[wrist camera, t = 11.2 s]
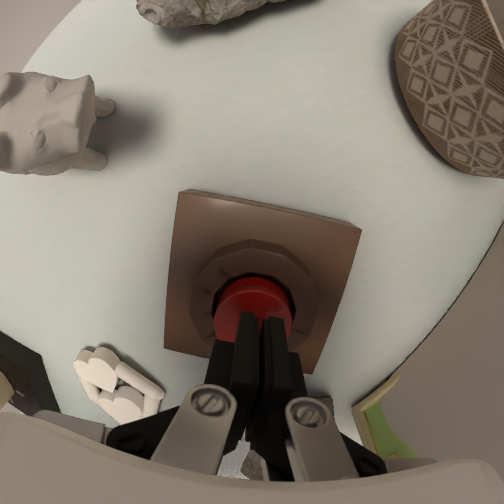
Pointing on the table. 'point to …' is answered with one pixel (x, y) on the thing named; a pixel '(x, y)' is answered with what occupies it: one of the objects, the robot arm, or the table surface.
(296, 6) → the table surface
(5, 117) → the dog figurine
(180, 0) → the seashell
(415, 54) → the planter
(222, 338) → the button
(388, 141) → the table surface
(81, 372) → the white abstract figurine
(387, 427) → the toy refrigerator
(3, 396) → the knob
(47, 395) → the panel
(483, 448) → the grey rectangular panel
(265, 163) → the table surface
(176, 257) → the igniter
